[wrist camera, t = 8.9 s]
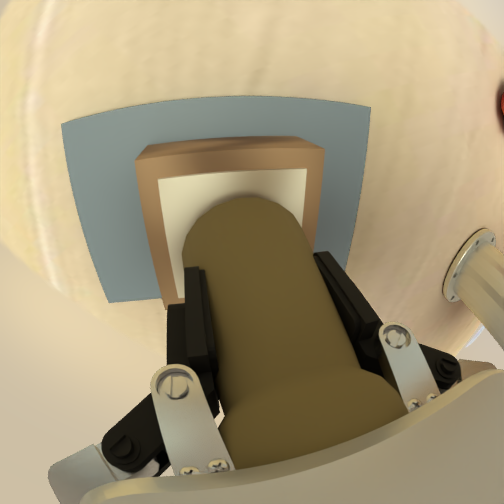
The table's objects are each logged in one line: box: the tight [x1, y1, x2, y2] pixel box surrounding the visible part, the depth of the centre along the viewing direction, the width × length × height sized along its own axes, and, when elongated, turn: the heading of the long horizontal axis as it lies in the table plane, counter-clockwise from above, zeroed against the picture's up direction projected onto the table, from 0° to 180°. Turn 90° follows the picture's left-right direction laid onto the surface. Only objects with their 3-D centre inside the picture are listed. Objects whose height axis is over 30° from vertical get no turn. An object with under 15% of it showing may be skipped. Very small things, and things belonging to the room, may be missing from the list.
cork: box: [182, 197, 409, 470], centre depth 8 cm, size 6×6×11 cm
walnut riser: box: [134, 136, 325, 310], centre depth 16 cm, size 9×9×4 cm
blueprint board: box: [61, 96, 371, 303], centre depth 18 cm, size 20×14×1 cm
